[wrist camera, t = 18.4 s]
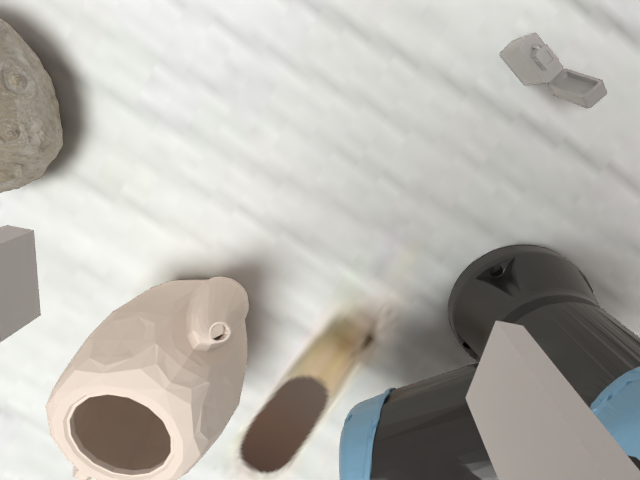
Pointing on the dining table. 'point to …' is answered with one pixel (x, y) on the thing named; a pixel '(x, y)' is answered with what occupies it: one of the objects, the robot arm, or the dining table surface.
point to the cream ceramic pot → (153, 382)
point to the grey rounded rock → (25, 113)
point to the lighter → (550, 71)
